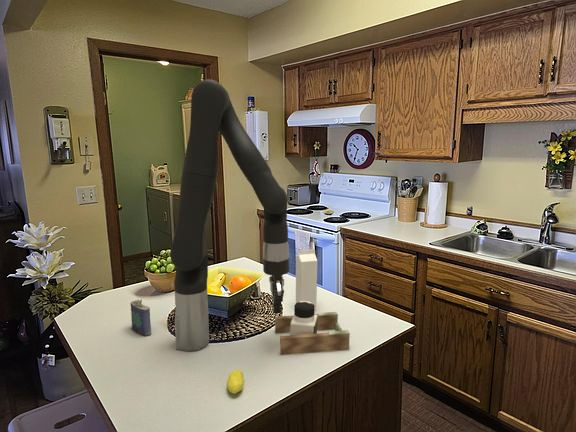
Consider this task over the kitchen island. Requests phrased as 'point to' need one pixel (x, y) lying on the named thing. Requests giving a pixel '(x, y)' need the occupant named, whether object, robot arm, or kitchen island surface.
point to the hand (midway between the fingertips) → (277, 312)
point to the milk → (306, 277)
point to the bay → (313, 336)
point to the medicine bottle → (303, 319)
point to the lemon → (235, 381)
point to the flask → (140, 318)
